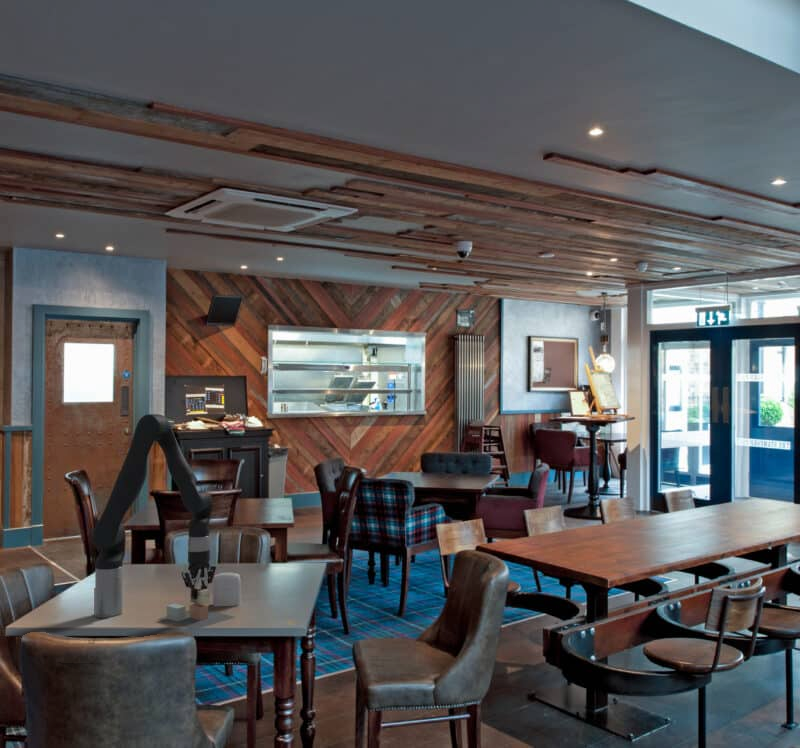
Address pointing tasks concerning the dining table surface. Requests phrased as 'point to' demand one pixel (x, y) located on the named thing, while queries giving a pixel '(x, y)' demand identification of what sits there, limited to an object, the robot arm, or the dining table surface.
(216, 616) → the charcoal mat
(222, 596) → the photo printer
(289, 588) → the dining table surface
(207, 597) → the maple brick
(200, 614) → the terracotta brick
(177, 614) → the grey green brick
